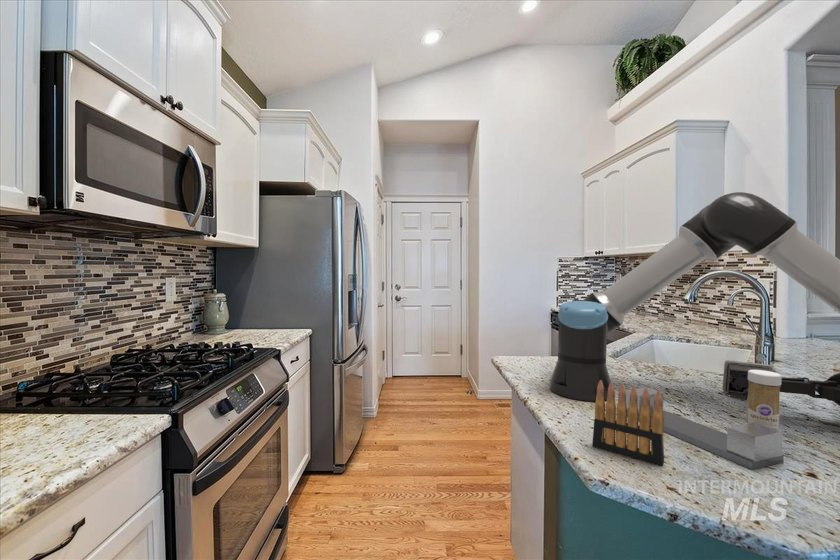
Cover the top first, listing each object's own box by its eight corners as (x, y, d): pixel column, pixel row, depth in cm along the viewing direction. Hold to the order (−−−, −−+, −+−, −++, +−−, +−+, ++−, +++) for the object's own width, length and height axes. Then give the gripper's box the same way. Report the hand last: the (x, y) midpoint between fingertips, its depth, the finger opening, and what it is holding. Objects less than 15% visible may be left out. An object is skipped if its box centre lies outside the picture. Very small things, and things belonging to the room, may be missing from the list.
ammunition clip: (592, 446, 67) (593, 380, 67) (594, 443, 69) (596, 377, 68) (662, 466, 61) (664, 392, 60) (664, 462, 62) (666, 390, 62)
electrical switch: (768, 398, 96) (770, 363, 95) (773, 406, 92) (775, 369, 91) (721, 391, 101) (723, 358, 100) (724, 398, 97) (725, 363, 96)
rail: (621, 413, 84) (622, 390, 83) (648, 409, 86) (648, 387, 86) (752, 469, 60) (753, 437, 60) (783, 462, 63) (784, 431, 62)
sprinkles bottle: (752, 447, 68) (754, 373, 68) (741, 437, 72) (743, 367, 72) (784, 452, 66) (787, 376, 66) (771, 441, 70) (774, 370, 70)
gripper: (957, 431, 67) (894, 447, 60) (784, 390, 91) (725, 398, 84) (959, 389, 67) (896, 401, 60) (785, 359, 91) (725, 365, 84)
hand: (796, 399), depth 72 cm, fingers open, 13 cm apart
